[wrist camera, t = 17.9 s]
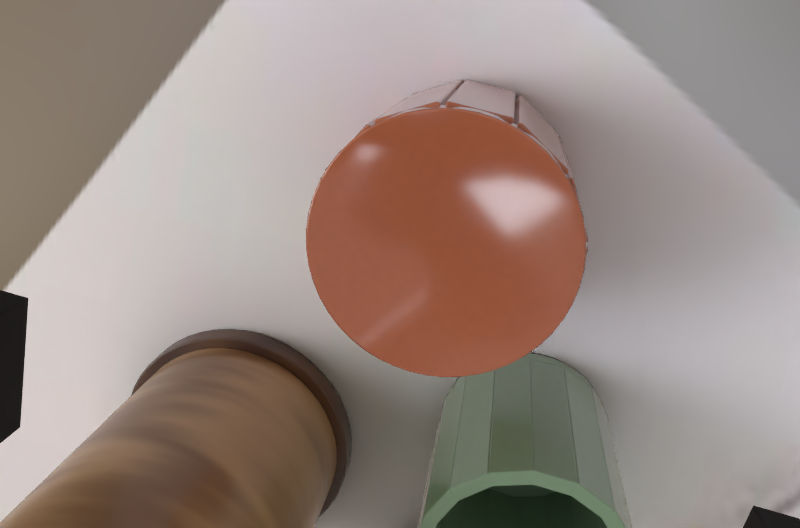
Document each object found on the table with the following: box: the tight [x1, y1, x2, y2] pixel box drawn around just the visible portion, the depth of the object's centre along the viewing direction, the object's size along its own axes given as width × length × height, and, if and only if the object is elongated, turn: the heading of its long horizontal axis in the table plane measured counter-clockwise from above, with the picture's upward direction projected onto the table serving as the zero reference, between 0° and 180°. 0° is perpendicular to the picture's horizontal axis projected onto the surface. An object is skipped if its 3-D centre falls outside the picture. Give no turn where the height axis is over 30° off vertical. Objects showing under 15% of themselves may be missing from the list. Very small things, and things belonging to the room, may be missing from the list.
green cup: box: [417, 353, 632, 528], centre depth 32 cm, size 8×8×10 cm
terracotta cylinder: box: [306, 80, 588, 377], centre depth 29 cm, size 9×9×10 cm
